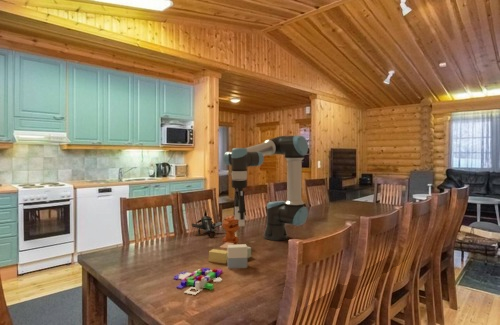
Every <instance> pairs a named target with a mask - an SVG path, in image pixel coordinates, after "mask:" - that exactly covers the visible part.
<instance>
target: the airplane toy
mask: <svg viewBox="0 0 500 325" xmlns="http://www.w3.org/2000/svg"><path fill="white" fill-rule="evenodd" d="M207 211H208V210H205V211H204V216H202V217H201V219H199V220H197V221H196V223H191V227H193V228H195V229H196V228H197V233H198V234H201V230H202V231H203V232H204V233H208V236H209V237H210V236H211V233H215V232H217V231H218V230H217V229H215V228H218V227H220V226H223V222H222V221H218V222H215V223H214V222H213V221H212V220H213V218H212V217H211V216H209V215H208V214H207Z"/></svg>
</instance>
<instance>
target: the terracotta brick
mask: <svg viewBox="0 0 500 325" xmlns="http://www.w3.org/2000/svg"><path fill="white" fill-rule="evenodd" d="M227 245H234V243H228V242H226V243H225V242H224V243H222V244H221V245H220V246H219V249H218V250H225V251H227Z"/></svg>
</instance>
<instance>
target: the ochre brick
mask: <svg viewBox="0 0 500 325" xmlns="http://www.w3.org/2000/svg"><path fill="white" fill-rule="evenodd" d="M208 262H211V263H219V264H227V262H228V256H227V251H225V250H219V249H216V248H212V249H210V250H209V251H208Z"/></svg>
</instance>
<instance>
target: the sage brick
mask: <svg viewBox="0 0 500 325" xmlns="http://www.w3.org/2000/svg"><path fill="white" fill-rule="evenodd" d="M251 257H252V247H250V246H247V259H249V258H251Z"/></svg>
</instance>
